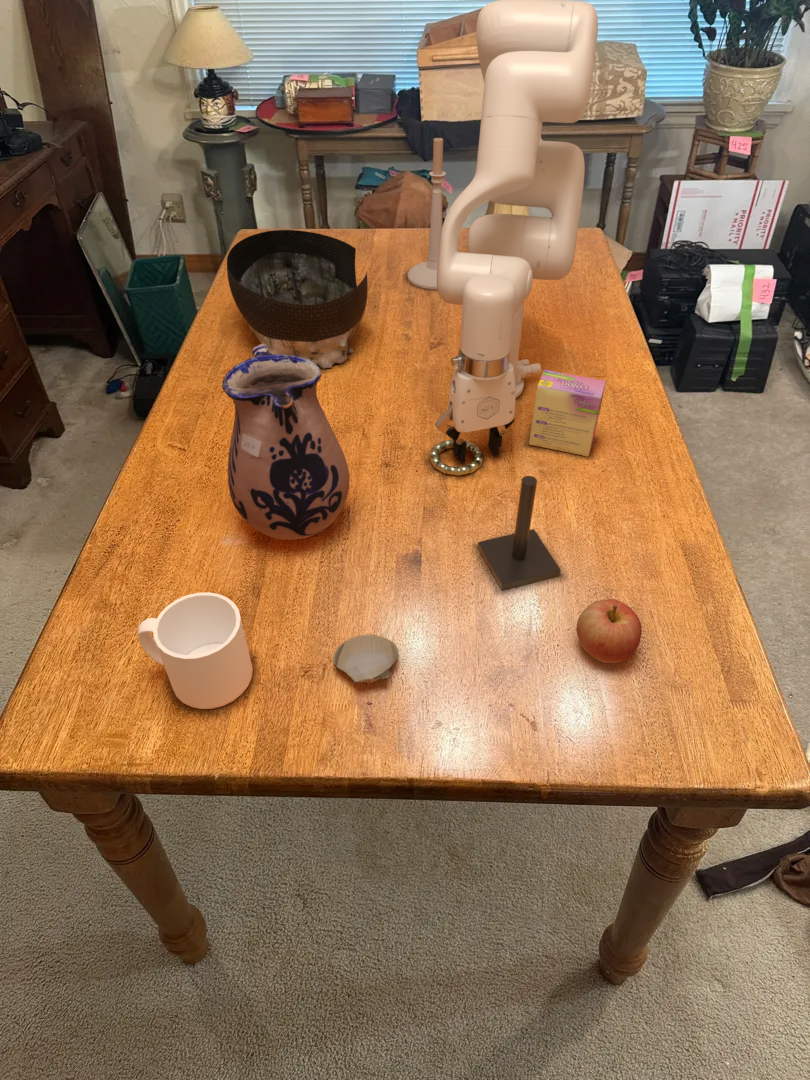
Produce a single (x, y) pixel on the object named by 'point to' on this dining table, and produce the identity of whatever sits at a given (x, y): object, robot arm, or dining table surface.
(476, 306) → the robot arm
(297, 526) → the ceramic pitcher
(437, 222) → the candlestick
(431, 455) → the beaded ring
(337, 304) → the basket
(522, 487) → the stand
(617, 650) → the apple
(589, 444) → the box
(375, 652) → the seashell
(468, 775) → the dining table surface
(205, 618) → the mug
